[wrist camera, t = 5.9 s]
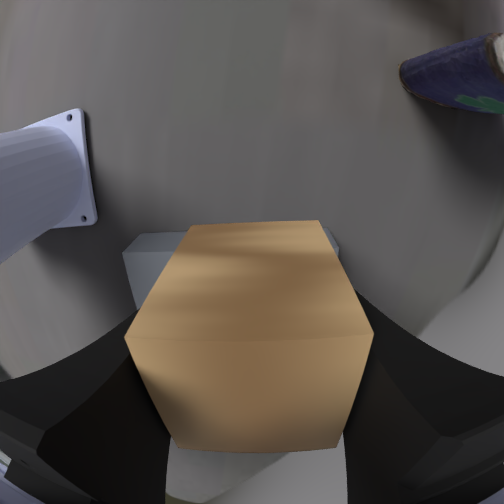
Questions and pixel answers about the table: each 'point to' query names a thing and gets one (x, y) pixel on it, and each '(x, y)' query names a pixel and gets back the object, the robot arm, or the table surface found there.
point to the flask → (460, 75)
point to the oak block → (252, 339)
